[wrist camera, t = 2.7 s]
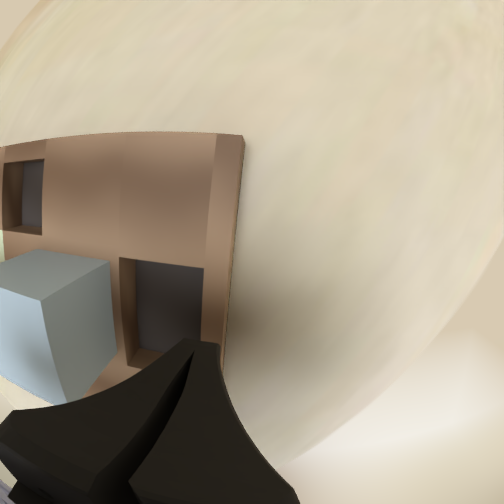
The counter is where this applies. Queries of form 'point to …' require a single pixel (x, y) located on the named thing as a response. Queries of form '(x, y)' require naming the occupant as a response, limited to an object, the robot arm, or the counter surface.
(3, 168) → the board
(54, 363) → the blue block
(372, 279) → the counter surface
